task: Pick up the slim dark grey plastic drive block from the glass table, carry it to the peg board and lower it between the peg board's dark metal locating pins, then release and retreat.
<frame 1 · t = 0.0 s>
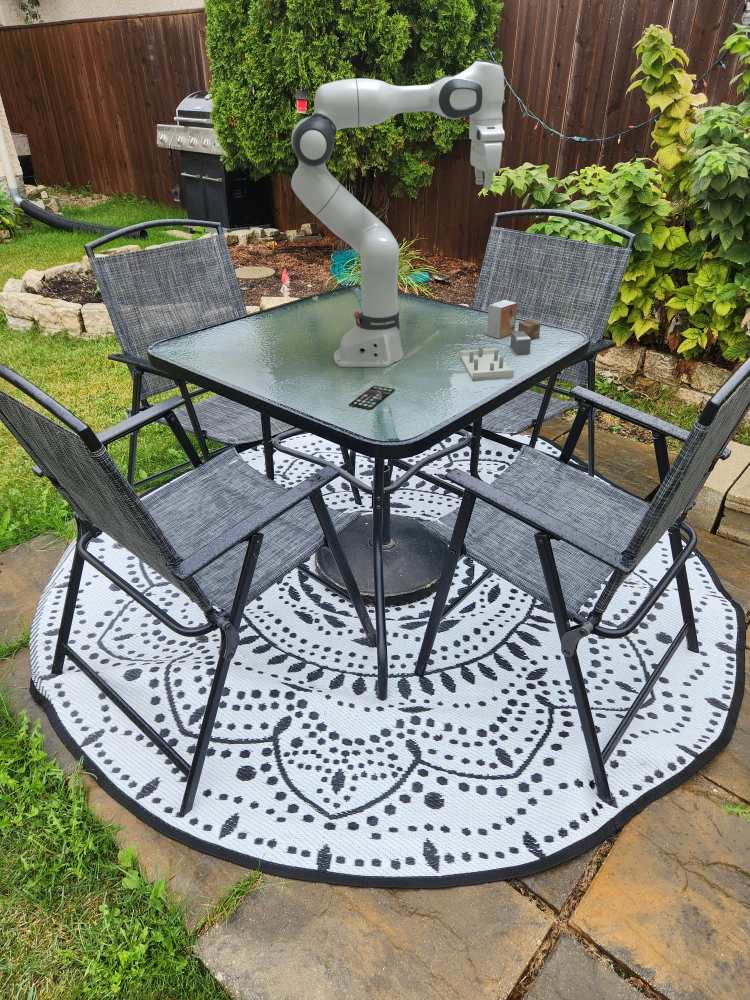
hand: (483, 186, 189), 48 cm above the table, tool pointing down, fingers open, 8 cm apart
peg board: (485, 367, 202), on the table
smartphone: (372, 399, 188), on the table
walnut block: (528, 337, 223), on the table
drive: (519, 350, 213), on the table
small box: (500, 334, 226), on the table
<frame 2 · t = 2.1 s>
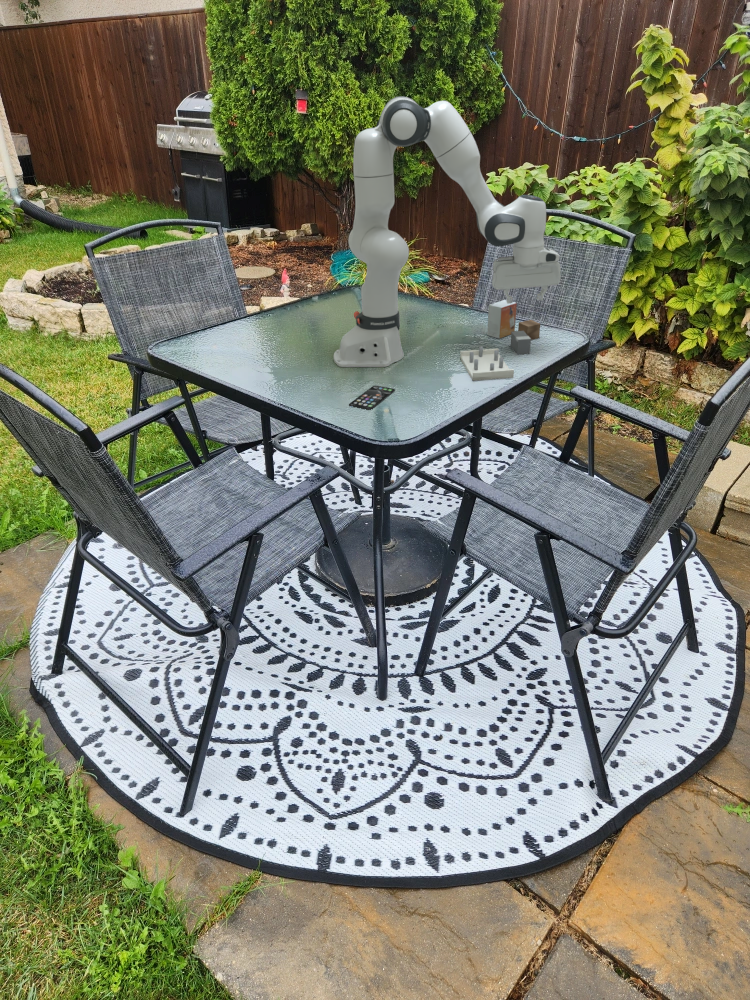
hand: (524, 301, 204), 16 cm above the table, tool pointing down, fingers open, 8 cm apart
nothing on the table moved.
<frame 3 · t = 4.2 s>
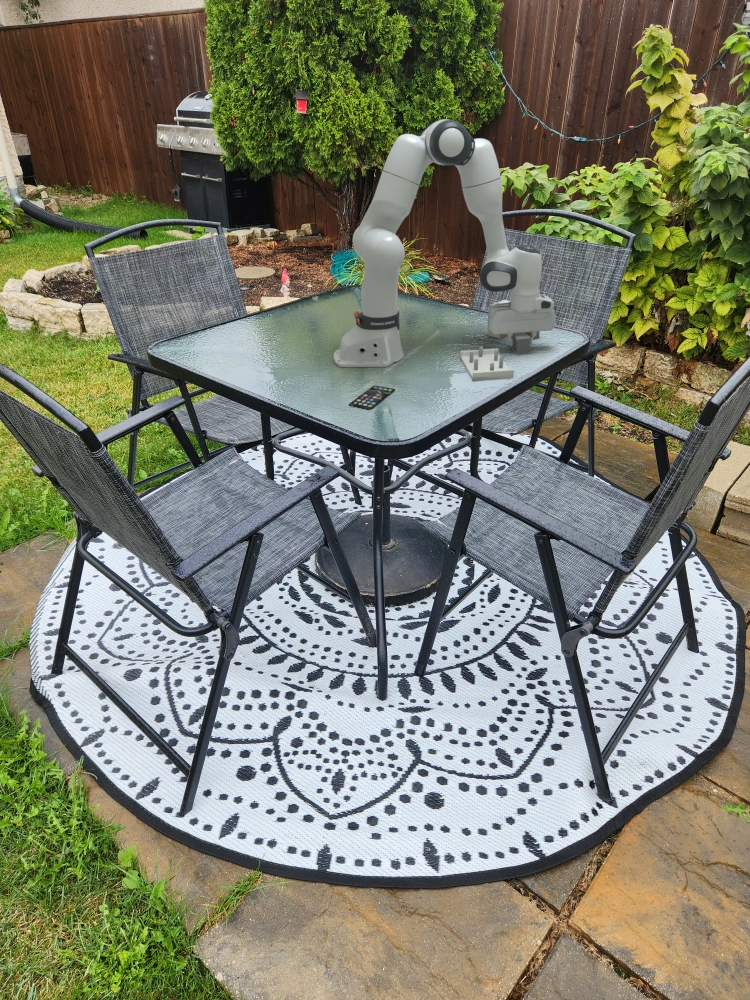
hand: (520, 345, 212), 2 cm above the table, tool pointing down, fingers closed on drive, 4 cm apart
drive: (519, 349, 213), on the table, touching gripper
everything else where it was.
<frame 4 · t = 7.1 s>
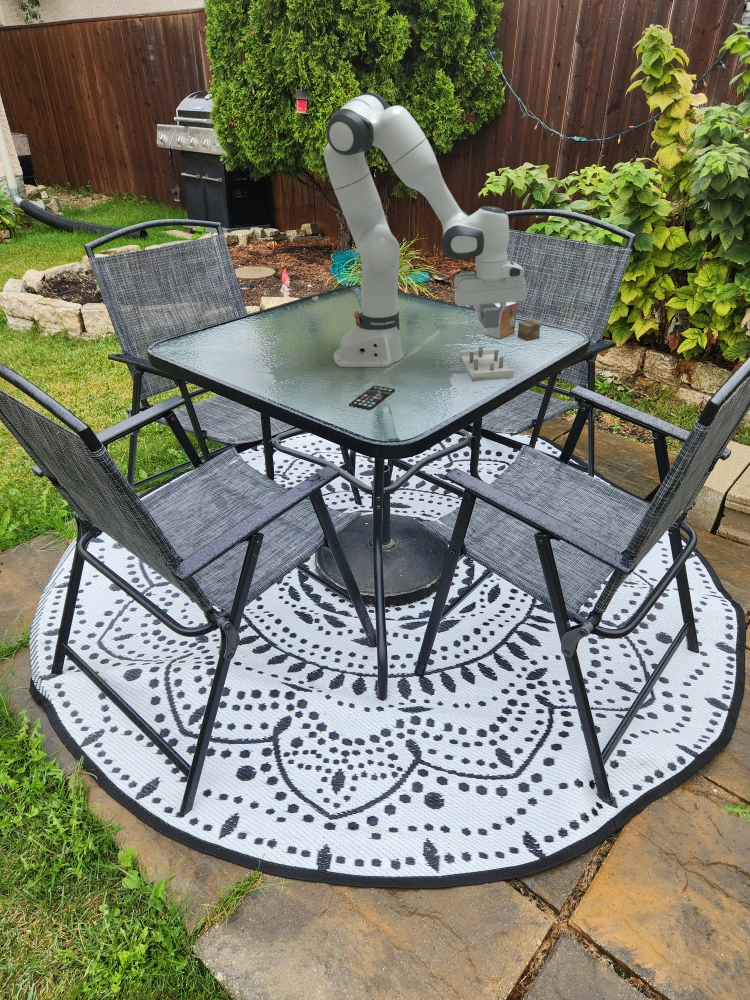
hand: (489, 318, 194), 15 cm above the table, tool pointing down, fingers closed on drive, 4 cm apart
drive: (488, 323, 195), point 14 cm above the table, touching gripper
everything else where it was.
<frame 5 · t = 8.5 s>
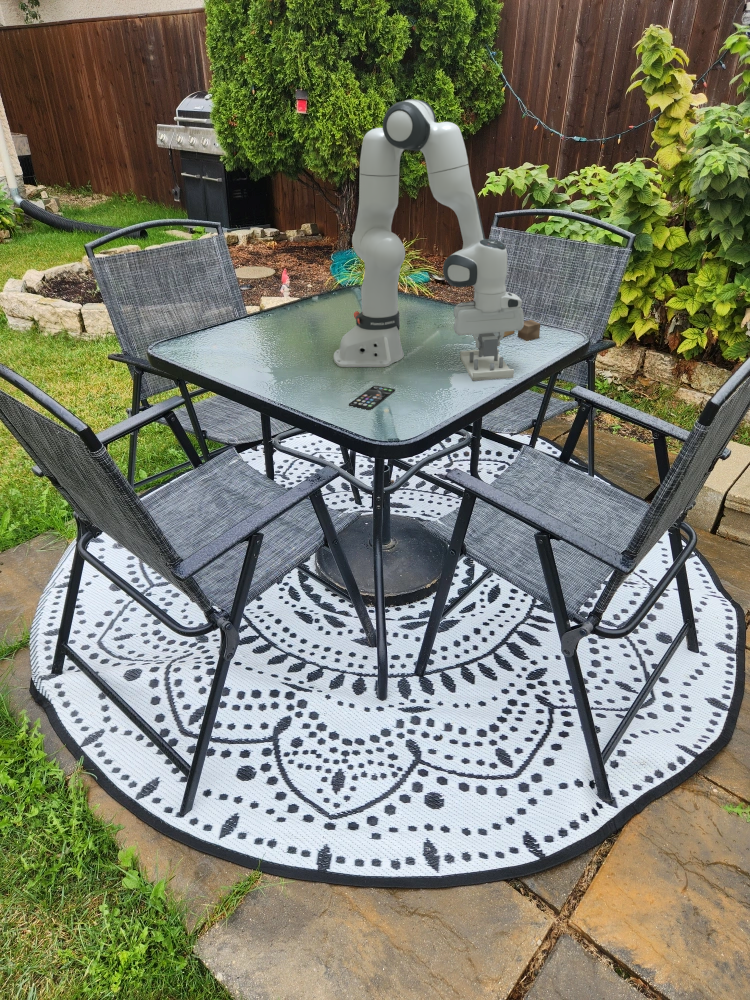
hand: (487, 346, 199), 7 cm above the table, tool pointing down, fingers closed on drive, 4 cm apart
drive: (486, 351, 200), point 5 cm above the table, touching gripper
everything else where it was.
when the fingers open (3 cm above the table, at t = 9.6 s): drive stays where it is, resting on peg board.
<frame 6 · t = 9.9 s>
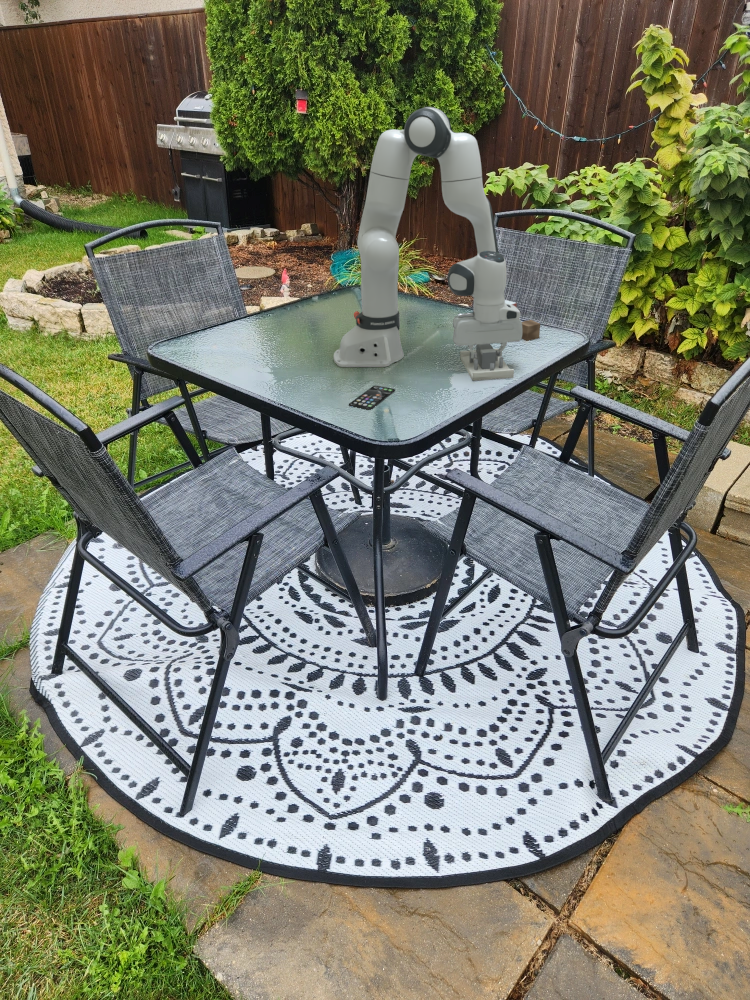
hand: (486, 357, 200), 3 cm above the table, tool pointing down, fingers open, 6 cm apart
drive: (485, 363, 202), point 1 cm above the table, touching peg board
everything else where it was.
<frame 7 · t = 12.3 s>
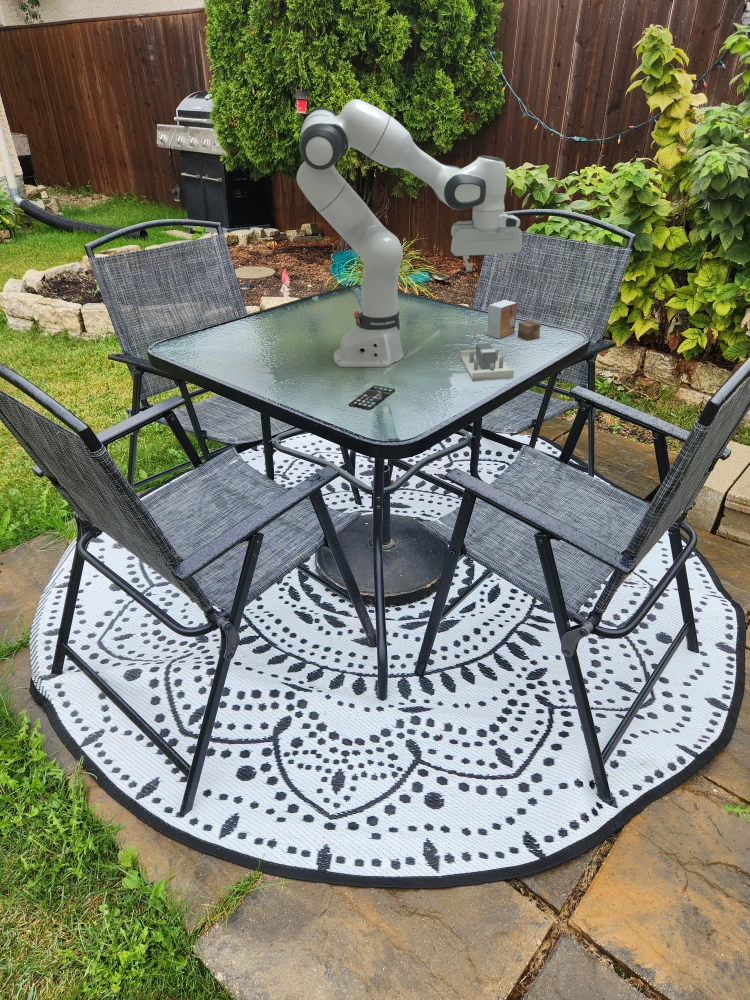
hand: (484, 269, 197), 26 cm above the table, tool pointing down, fingers open, 8 cm apart
nothing on the table moved.
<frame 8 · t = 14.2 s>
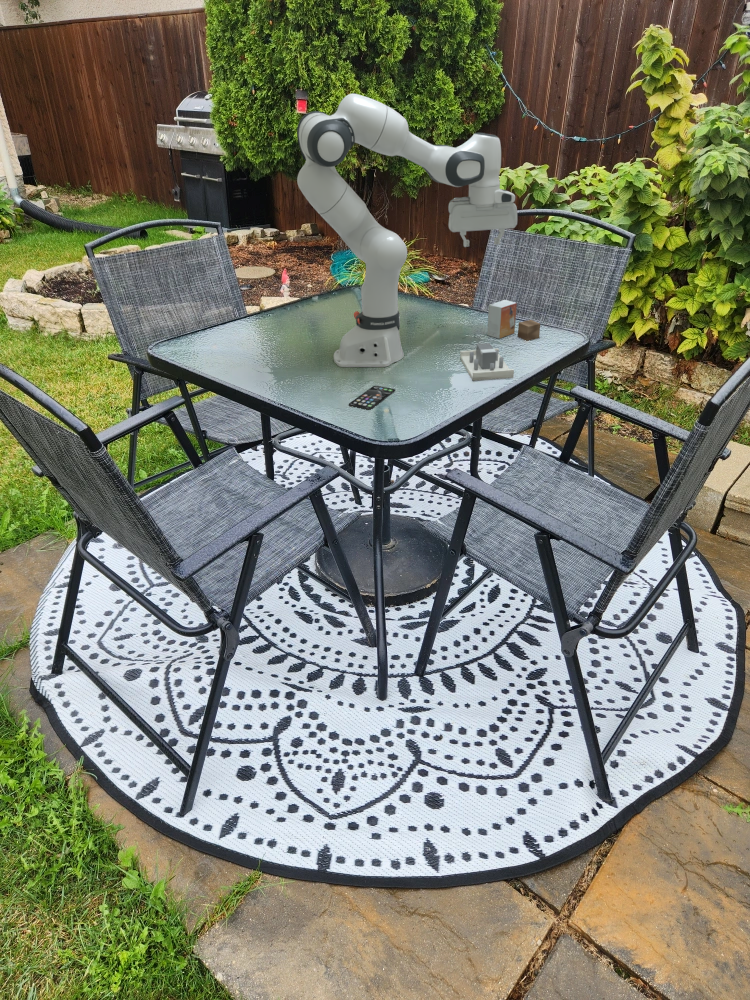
hand: (481, 245, 202), 31 cm above the table, tool pointing down, fingers open, 8 cm apart
nothing on the table moved.
at the end: drive 0.6 cm off-centre on the peg board, point 1.0 cm above the peg board's base; drive tilted 0°; the gripper is holding nothing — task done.
